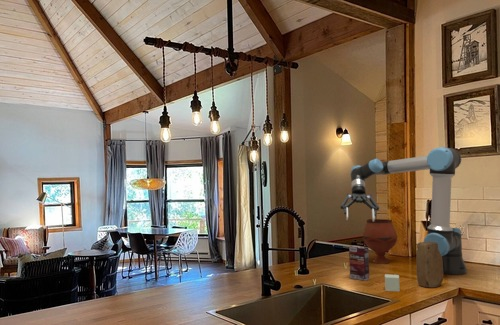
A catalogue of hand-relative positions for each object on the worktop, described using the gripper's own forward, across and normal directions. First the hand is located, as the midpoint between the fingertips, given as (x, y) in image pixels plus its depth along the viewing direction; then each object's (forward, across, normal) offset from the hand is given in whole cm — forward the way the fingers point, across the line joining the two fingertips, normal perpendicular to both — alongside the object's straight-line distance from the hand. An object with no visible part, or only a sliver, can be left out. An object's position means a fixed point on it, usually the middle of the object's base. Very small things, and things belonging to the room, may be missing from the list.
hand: (360, 219), depth 220 cm
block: (+36, -30, 0) cm, 47 cm away
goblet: (+1, -16, -40) cm, 43 cm away
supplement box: (+29, +1, -10) cm, 31 cm away
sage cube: (+42, -11, +5) cm, 43 cm away
